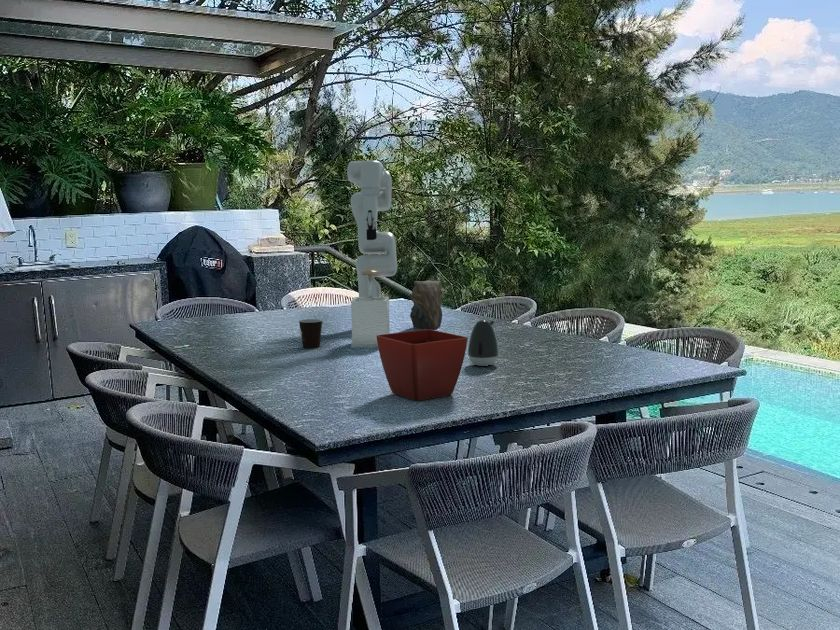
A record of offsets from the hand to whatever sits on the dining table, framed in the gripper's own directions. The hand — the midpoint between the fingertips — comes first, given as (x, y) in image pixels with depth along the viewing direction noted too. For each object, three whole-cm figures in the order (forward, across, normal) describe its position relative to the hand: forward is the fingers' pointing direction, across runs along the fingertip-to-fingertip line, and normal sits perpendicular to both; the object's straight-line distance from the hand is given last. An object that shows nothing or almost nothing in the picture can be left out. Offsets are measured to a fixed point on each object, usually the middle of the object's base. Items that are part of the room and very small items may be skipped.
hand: (371, 239), depth 335 cm
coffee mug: (+40, +15, -22) cm, 48 cm away
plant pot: (+40, +97, +22) cm, 107 cm away
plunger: (+28, +12, 0) cm, 31 cm away
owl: (+40, -30, +21) cm, 54 cm away
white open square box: (+40, +12, 0) cm, 41 cm away
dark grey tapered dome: (+40, +55, +41) cm, 79 cm away
